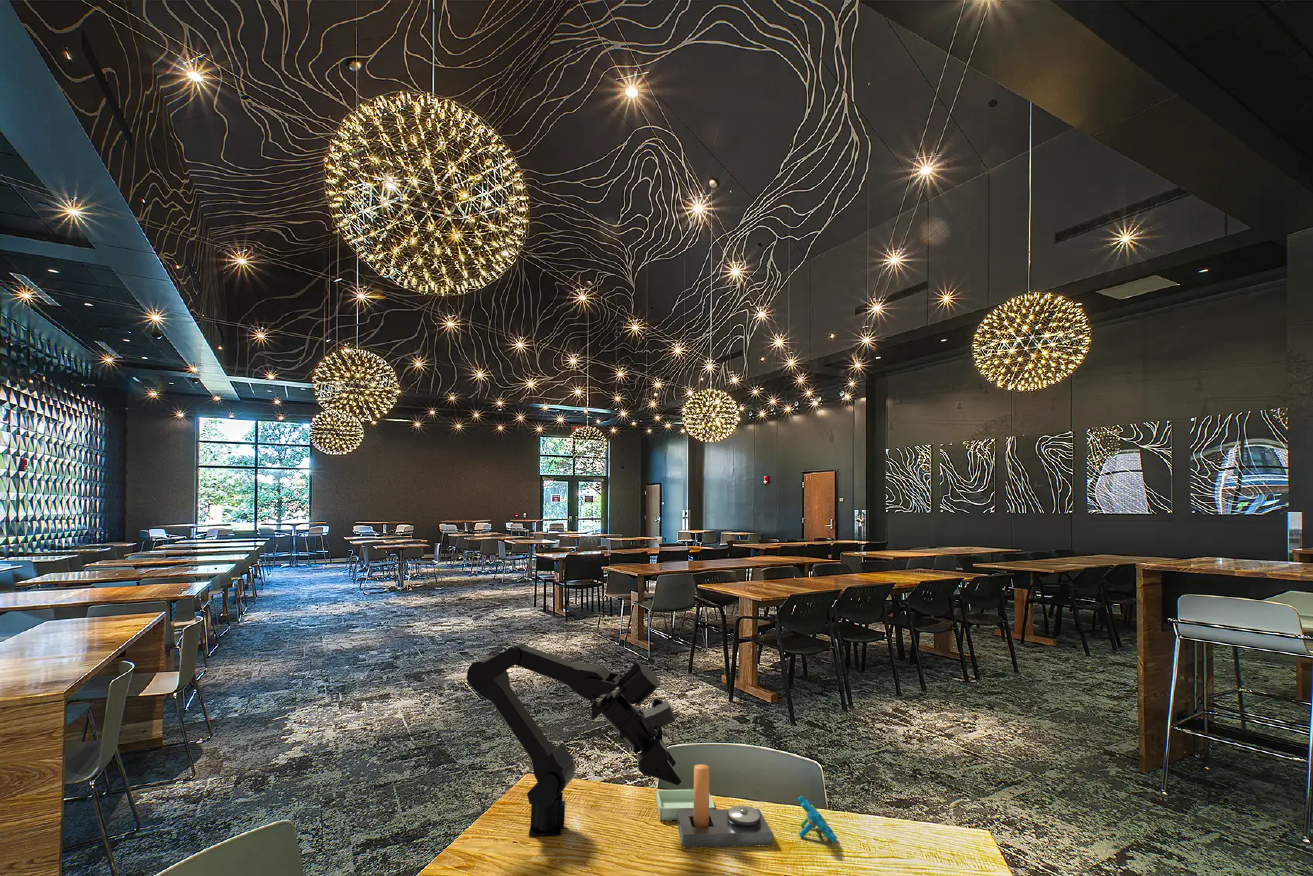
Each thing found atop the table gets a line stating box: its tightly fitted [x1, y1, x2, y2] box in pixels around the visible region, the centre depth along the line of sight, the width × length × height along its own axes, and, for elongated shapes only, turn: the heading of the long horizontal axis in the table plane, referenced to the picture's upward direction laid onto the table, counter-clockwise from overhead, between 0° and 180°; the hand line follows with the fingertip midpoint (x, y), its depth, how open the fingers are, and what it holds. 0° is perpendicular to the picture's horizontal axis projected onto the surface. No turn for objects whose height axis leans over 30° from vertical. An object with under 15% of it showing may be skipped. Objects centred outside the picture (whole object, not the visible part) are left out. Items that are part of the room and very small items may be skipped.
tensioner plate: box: [676, 805, 773, 849], centre depth 123 cm, size 18×10×5 cm, turn 95°
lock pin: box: [693, 763, 710, 827], centre depth 124 cm, size 3×3×13 cm
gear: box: [797, 795, 838, 844], centre depth 123 cm, size 11×6×10 cm
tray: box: [655, 788, 716, 822], centre depth 133 cm, size 12×9×2 cm
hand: (677, 773), depth 124 cm, fingers open, 9 cm apart
